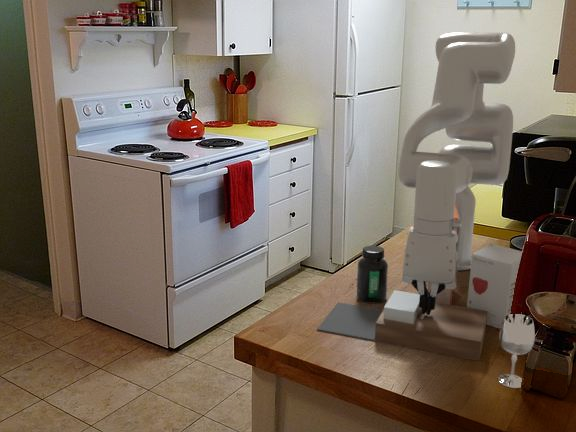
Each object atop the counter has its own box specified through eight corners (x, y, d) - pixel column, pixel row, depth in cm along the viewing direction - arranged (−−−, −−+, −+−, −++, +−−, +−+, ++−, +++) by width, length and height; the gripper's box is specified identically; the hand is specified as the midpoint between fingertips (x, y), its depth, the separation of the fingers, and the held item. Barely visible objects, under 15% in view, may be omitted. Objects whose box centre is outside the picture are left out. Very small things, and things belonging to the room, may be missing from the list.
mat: (337, 303, 139) (337, 302, 138) (390, 312, 134) (390, 311, 134) (317, 330, 126) (317, 328, 126) (373, 340, 122) (373, 339, 122)
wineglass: (489, 373, 110) (495, 312, 107) (519, 371, 111) (527, 311, 107) (502, 391, 105) (509, 327, 101) (534, 389, 105) (543, 326, 102)
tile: (393, 301, 130) (394, 290, 130) (422, 305, 128) (422, 294, 127) (383, 318, 122) (384, 307, 122) (413, 324, 120) (414, 312, 119)
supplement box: (464, 318, 132) (470, 252, 127) (482, 304, 138) (489, 242, 134) (504, 331, 126) (512, 263, 121) (522, 317, 132) (530, 252, 128)
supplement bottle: (378, 306, 137) (381, 256, 134) (351, 299, 141) (353, 250, 137) (390, 295, 143) (393, 247, 139) (364, 289, 146) (366, 242, 143)
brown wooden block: (390, 312, 134) (391, 295, 133) (485, 328, 127) (487, 311, 126) (374, 341, 122) (375, 322, 121) (479, 360, 114) (480, 341, 113)
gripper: (475, 224, 119) (466, 310, 124) (398, 215, 124) (394, 298, 129) (471, 235, 112) (462, 326, 117) (390, 226, 117) (386, 313, 123)
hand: (426, 311), depth 123 cm, fingers closed
